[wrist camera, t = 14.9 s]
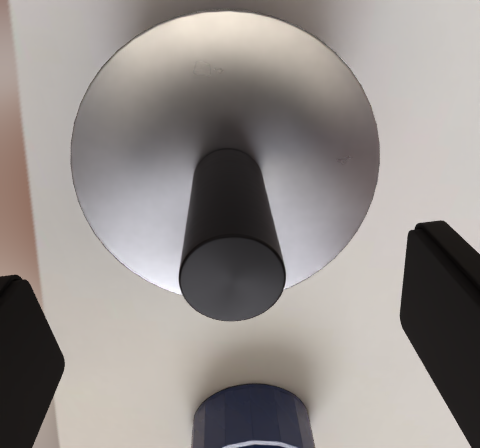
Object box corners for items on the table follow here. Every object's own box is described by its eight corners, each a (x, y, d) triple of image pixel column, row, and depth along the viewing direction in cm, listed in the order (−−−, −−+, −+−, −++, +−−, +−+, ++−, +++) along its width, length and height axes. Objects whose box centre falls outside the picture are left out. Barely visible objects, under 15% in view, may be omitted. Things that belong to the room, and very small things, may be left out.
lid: (84, 275, 19) (13, 419, 13) (70, -20, 13) (-75, -40, 7) (329, 297, 21) (382, 437, 14) (413, 38, 15) (571, 67, 8)
